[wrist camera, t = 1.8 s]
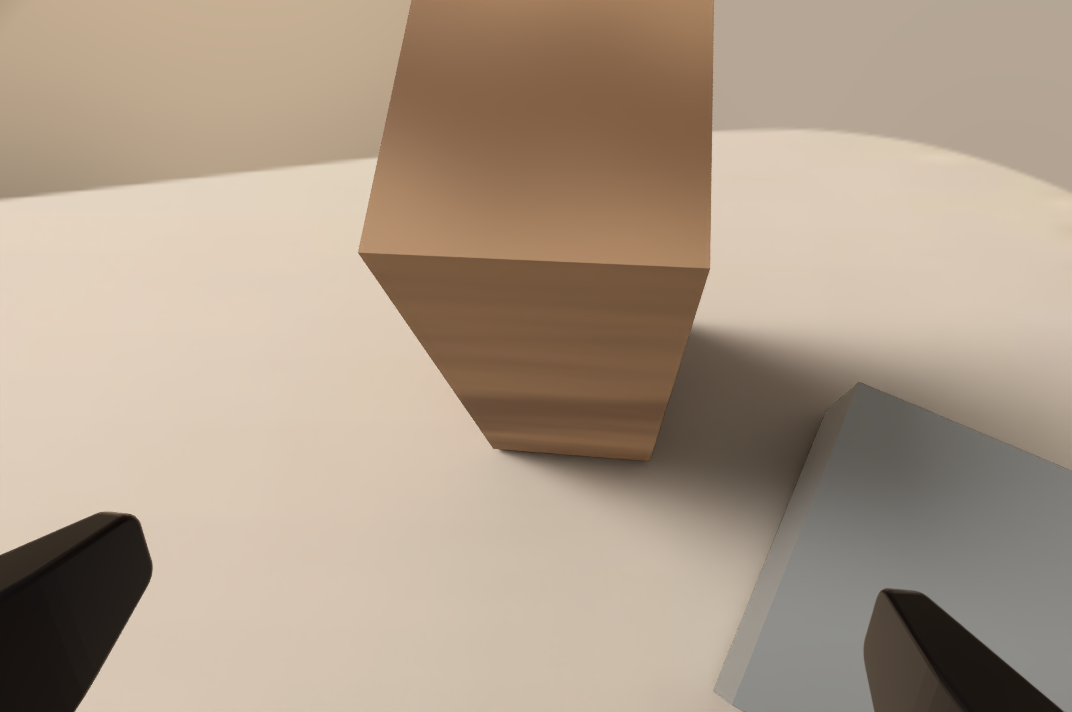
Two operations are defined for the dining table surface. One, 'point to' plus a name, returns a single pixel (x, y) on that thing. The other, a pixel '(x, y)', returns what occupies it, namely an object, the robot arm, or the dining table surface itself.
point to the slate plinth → (906, 556)
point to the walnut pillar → (550, 210)
